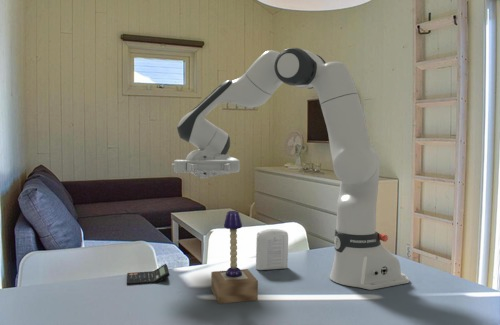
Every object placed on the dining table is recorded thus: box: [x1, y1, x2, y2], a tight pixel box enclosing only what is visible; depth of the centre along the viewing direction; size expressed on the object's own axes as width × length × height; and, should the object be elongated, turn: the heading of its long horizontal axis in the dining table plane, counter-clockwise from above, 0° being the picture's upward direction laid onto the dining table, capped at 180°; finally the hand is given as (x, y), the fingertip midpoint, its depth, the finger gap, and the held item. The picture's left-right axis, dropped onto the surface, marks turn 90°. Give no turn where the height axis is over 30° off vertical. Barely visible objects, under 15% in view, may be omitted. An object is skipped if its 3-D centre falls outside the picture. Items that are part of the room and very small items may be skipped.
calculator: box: [126, 263, 171, 286], centre depth 130 cm, size 9×12×3 cm
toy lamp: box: [223, 210, 243, 277], centre depth 116 cm, size 5×5×17 cm
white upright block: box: [255, 228, 289, 271], centre depth 140 cm, size 10×4×12 cm, turn 107°
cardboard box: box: [210, 268, 259, 305], centre depth 117 cm, size 10×10×5 cm
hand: (211, 167), depth 131 cm, fingers open, 8 cm apart
